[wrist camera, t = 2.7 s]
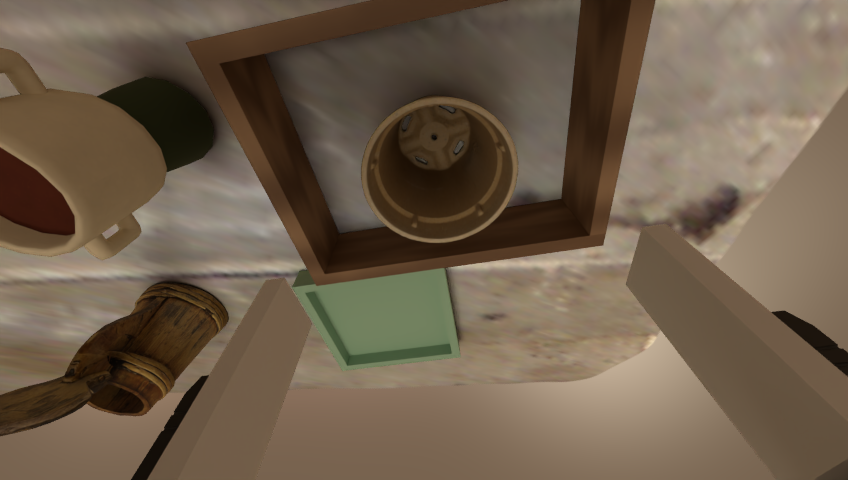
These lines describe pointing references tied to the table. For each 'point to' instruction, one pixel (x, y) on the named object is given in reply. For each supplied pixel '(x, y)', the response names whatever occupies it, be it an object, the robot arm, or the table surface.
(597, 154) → the walnut crate
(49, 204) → the character mug
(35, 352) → the table surface
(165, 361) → the wooden mug
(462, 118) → the flower pot
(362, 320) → the green tray
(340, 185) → the table surface
